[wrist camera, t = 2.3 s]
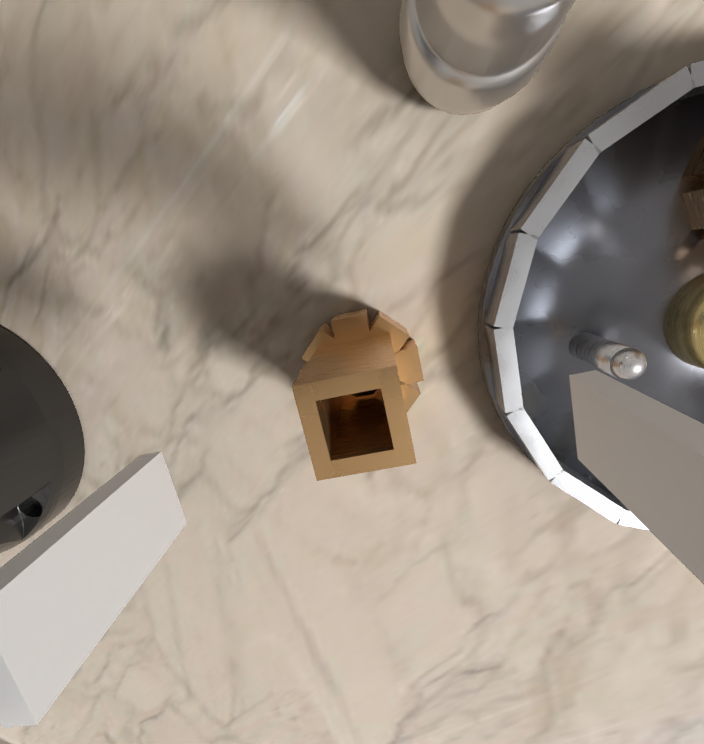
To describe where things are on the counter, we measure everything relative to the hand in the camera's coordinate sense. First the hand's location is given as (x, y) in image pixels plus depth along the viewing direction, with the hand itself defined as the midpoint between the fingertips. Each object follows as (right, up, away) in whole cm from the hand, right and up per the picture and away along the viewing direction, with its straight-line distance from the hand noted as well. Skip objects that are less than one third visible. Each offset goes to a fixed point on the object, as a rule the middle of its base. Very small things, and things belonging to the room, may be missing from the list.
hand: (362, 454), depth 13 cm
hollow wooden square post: (0, +3, +11) cm, 11 cm away
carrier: (+18, +6, +9) cm, 21 cm away
